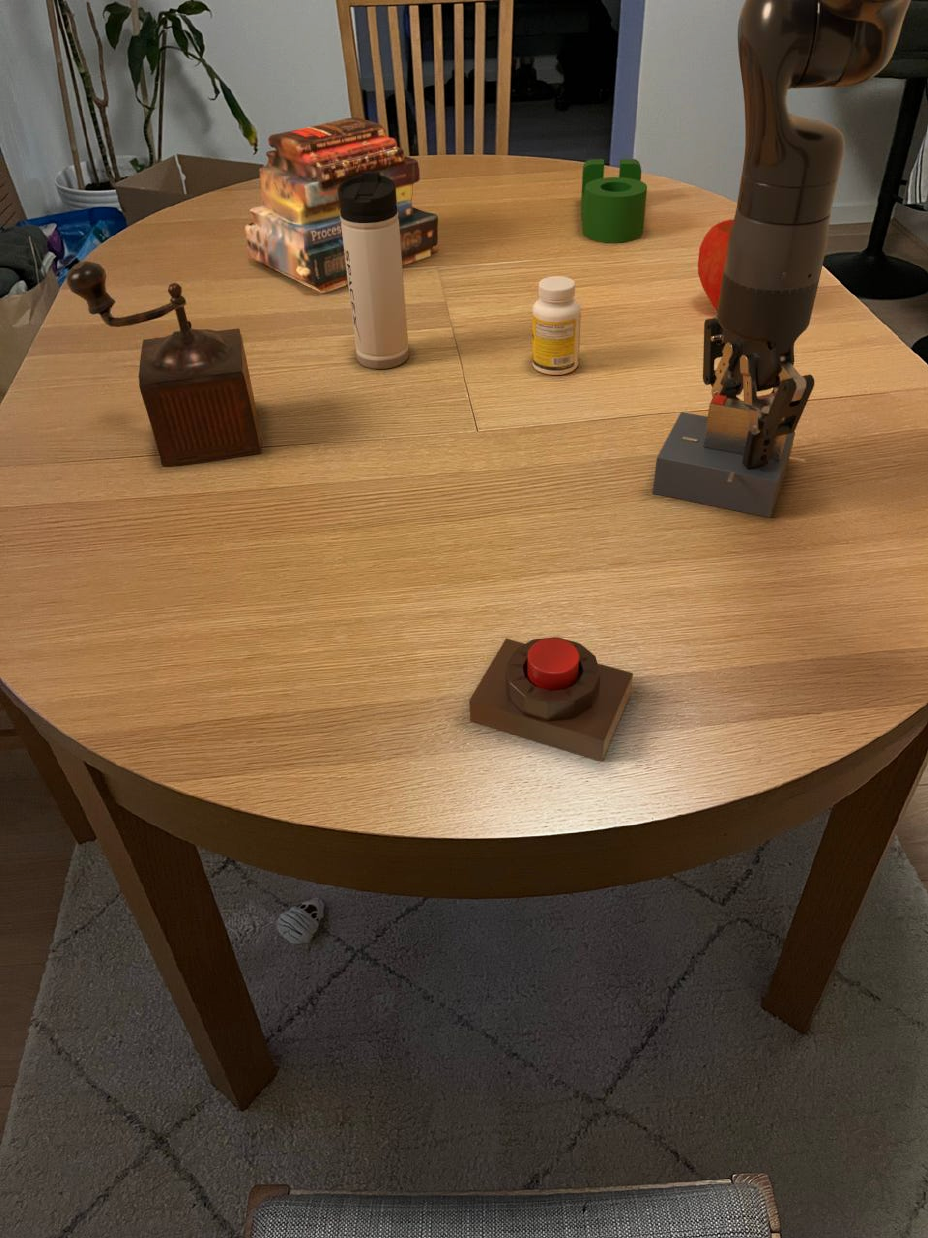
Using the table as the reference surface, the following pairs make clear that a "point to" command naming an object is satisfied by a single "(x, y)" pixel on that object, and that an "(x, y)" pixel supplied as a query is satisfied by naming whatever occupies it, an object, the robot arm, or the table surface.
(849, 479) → the table surface
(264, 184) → the book
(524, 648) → the button block
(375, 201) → the travel mug
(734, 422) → the red-tipped tan bar
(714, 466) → the grey slotted base
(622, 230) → the slotted cylinder bracket
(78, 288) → the manual coffee grinder
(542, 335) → the supplement bottle
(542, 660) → the red push button
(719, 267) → the apple
